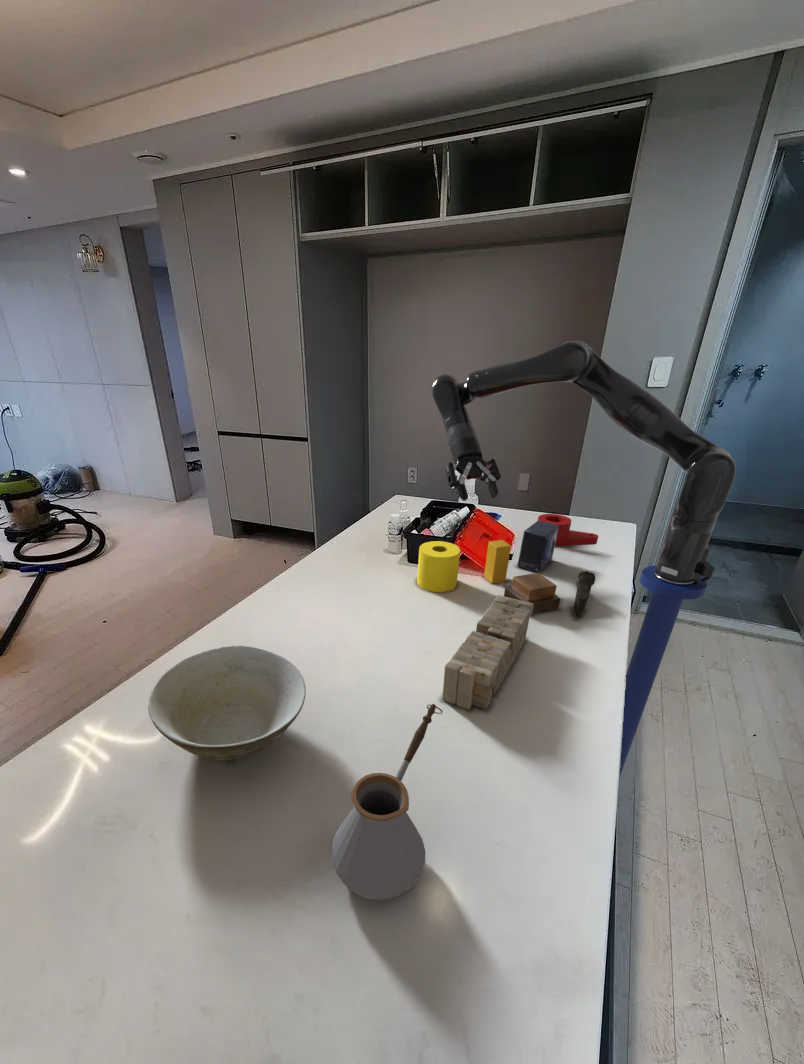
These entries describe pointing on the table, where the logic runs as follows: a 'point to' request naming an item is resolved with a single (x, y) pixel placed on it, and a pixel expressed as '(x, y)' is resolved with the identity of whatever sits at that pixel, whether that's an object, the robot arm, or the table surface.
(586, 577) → the hand tool
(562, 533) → the lever
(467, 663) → the block tower
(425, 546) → the yellow toilet paper roll
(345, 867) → the coffee pot
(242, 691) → the bowl
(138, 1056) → the table surface
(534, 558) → the small box
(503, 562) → the bar
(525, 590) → the brown stepped wooden block
